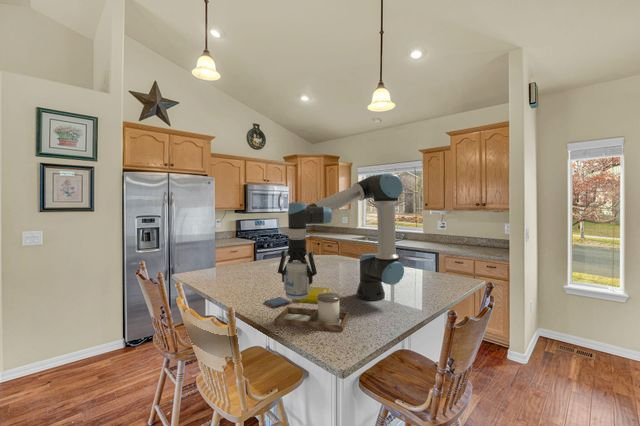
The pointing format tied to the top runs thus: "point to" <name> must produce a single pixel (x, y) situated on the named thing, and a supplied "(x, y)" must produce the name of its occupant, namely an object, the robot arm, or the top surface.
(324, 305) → the canister
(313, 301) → the element tile
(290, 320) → the crate
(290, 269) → the supplement tub
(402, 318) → the top surface
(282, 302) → the woven mat
